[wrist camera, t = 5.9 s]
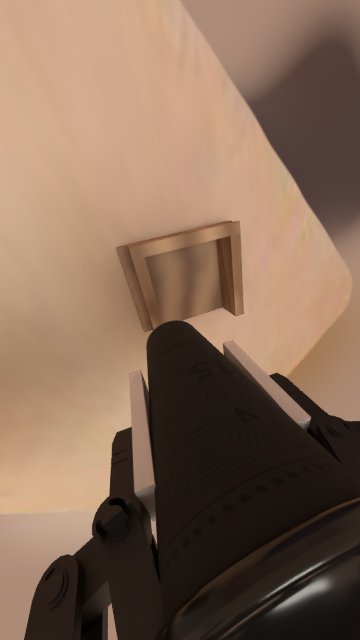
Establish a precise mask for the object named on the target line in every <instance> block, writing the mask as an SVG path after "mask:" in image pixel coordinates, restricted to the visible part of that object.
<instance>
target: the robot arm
mask: <svg viewBox="0 0 360 640" xmlns="http://www.w3.org/2000/svg"><path fill="white" fill-rule="evenodd" d="M223 349H224V356H225V357H226V358H227V359H228V360H229V361H231V362H232V363H233V364H234V365H235V366H236V367H237V368H238V369H239V370H240V371H241V372H242V373H244V374H245V375H246V376H247V377H248V378H249V379H250V380H251V381H252V382H253V383H254V384H255V385H256V386H258V387H259V388H260V389H261V390H262V391H263V392H264V393H265V394H266V395H267V396H268V397H269V398H271V399H272V400H273V401H274V402H275V403H276V404H277V405H278V406H279V407H280V408H281V409H282V410H283V411H285V412H286V413H287V414H288V415H289V416H290V417H291V418H292V419H293V420H294V421H295V422H296V423H298V424H299V425H300V426H301V427H302V428H303V429H304V430H305V431H306V432H307V433H308V434H309V435H310V436H312V437H313V438H314V439H315V440H316V441H317V442H318V443H319V444H320V445H321V446H322V447H323V448H325V449H326V450H327V451H328V452H329V453H330V454H331V455H332V456H333V457H334V458H335V459H336V460H337V461H339V462H340V463H341V464H342V465H343V466H344V467H345V468H346V469H347V470H348V471H349V472H350V473H352V474H353V475H354V476H355V477H356V478H357V479H358V480H359V481H360V421H352V422H351V421H344V420H343V419H341V418H339V417H335V416H330V415H328V414H327V413H326V412H325V411H324V410H322V409H321V408H320V407H319V406H318V405H317V404H315V403H314V402H313V401H312V400H311V399H310V398H309V397H308V396H307V395H305V394H304V393H303V392H302V391H300V389H299V388H298V387H296V386H295V385H294V384H293V383H292V382H291V381H290V380H288V379H287V378H286V377H284V376H282V375H280V374H278V373H275V374H272V375H269V376H268V375H267V374H266V373H265V372H264V371H263V370H262V369H261V368H260V367H259V366H258V365H257V364H256V363H255V362H254V361H253V360H252V359H251V358H250V357H249V356H248V355H247V354H246V353H245V352H244V351H243V350H242V349H241V348H240V347H239V346H238V345H237V344H236V343H235V342H234V341H233V340H232V341H229V342H226V343H223ZM130 397H131V421H132V427H130V428H127V429H125V430H122V431H119V432H117V433H116V436H115V438H114V440H113V443H112V458H111V476H110V494H109V497H107V498H106V500H105V501H104V502H103V503H102V504H101V505H100V507H99V508H98V510H97V512H96V514H95V517H94V520H93V524H92V535H93V536H94V537H93V538H92V539H91V540H89V541H88V542H87V543H86V544H85V545H84V546H83V547H82V548H81V549H80V550H78V551H77V552H76V553H75V554H74V555H73V556H71V555H69V554H67V555H64V556H60V557H59V558H58V559H57V560H55V561H54V562H53V563H52V564H51V565H50V566H49V568H48V569H47V570H46V571H45V573H44V574H43V576H42V578H41V580H40V582H39V584H38V586H37V588H36V591H35V594H34V597H33V600H32V604H31V609H30V614H29V619H28V624H27V628H26V633H25V638H24V640H108V606H109V605H110V604H111V603H112V608H113V614H114V620H115V626H116V632H117V638H118V640H154V638H155V636H156V634H157V633H158V631H159V630H160V628H161V627H162V626H163V610H162V592H161V583H160V577H159V566H158V548H157V544H156V541H155V538H154V536H153V534H152V529H151V519H152V521H155V520H156V512H155V494H154V492H155V486H156V484H155V473H154V463H153V451H152V439H151V421H150V403H149V391H148V389H147V386H146V383H145V380H144V378H143V375H142V372H141V370H139V371H136V372H133V373H130Z"/></svg>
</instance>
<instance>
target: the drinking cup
mask: <svg viewBox="0 0 360 640" xmlns="http://www.w3.org/2000/svg"><path fill="white" fill-rule="evenodd" d="M146 349H147V367H148V385H149V403H150V421H151V439H152V451H153V463H154V473H155V484H156V486H155V492H154V494H155V512H156V528H157V529H156V530H157V548H158V566H159V577H160V583H161V592H162V610H163V626H162V627H161V628H160V630H159V631H158V633H157V634H156V636H155V638H154V640H360V481H359V480H358V479H357V478H356V477H355V476H354V475H353V474H352V473H350V472H349V471H348V470H347V469H346V468H345V467H344V466H343V465H342V464H341V463H340V462H339V461H337V460H336V459H335V458H334V457H333V456H332V455H331V454H330V453H329V452H328V451H327V450H326V449H325V448H323V447H322V446H321V445H320V444H319V443H318V442H317V441H316V440H315V439H314V438H313V437H312V436H310V435H309V434H308V433H307V432H306V431H305V430H304V429H303V428H302V427H301V426H300V425H299V424H298V423H296V422H295V421H294V420H293V419H292V418H291V417H290V416H289V415H288V414H287V413H286V412H285V411H283V410H282V409H281V408H280V407H279V406H278V405H277V404H276V403H275V402H274V401H273V400H272V399H271V398H269V397H268V396H267V395H266V394H265V393H264V392H263V391H262V390H261V389H260V388H259V387H258V386H256V385H255V384H254V383H253V382H252V381H251V380H250V379H249V378H248V377H247V376H246V375H245V374H244V373H242V372H241V371H240V370H239V369H238V368H237V367H236V366H235V365H234V364H233V363H232V362H231V361H229V360H228V359H227V358H226V357H225V356H224V355H223V354H222V353H221V352H220V351H219V350H218V349H216V348H215V347H214V346H213V345H212V344H211V343H210V342H209V341H208V340H207V339H206V338H205V337H204V336H202V335H201V334H200V333H199V332H198V331H197V330H196V329H195V328H194V327H193V326H192V325H190V324H189V323H187V322H184V321H179V320H174V321H168V322H165V323H163V324H161V325H159V326H158V327H157V328H155V329H154V330H153V332H152V333H151V334H150V336H149V338H148V340H147V346H146Z"/></svg>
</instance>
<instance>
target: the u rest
mask: <svg viewBox="0 0 360 640" xmlns="http://www.w3.org/2000/svg"><path fill="white" fill-rule="evenodd" d="M117 251H118V254H119V257H120V260H121V263H122V266H123V269H124V272H125V275H126V278H127V281H128V284H129V287H130V290H131V293H132V296H133V299H134V302H135V305H136V308H137V310H138V313H139V316H140V319H141V322H142V325H143V328H144V331H145V332H147V331H150V330H154V329H155V328H157V327H158V326H159V325H161V324H163V323H165V322H168V321H174V320H179V321H181V320H184V319H187V318H190V317H193V316H197V315H200V314H203V313H206V312H209V311H212V310H215V309H218V308H221V307H223V308H225V309H226V310H227V311H229V312H230V313H232V314H233V315H234V316H238V315H241V314H244V310H243V285H242V261H241V236H240V221H236V222H232V221H227V222H222V223H218V224H214V225H210V226H206V227H201V228H197V229H193V230H189V231H184V232H180V233H176V234H172V235H168V236H163V237H159V238H155V239H151V240H146V241H142V242H138V243H134V244H129V245H125V246H121V247H117Z"/></svg>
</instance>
